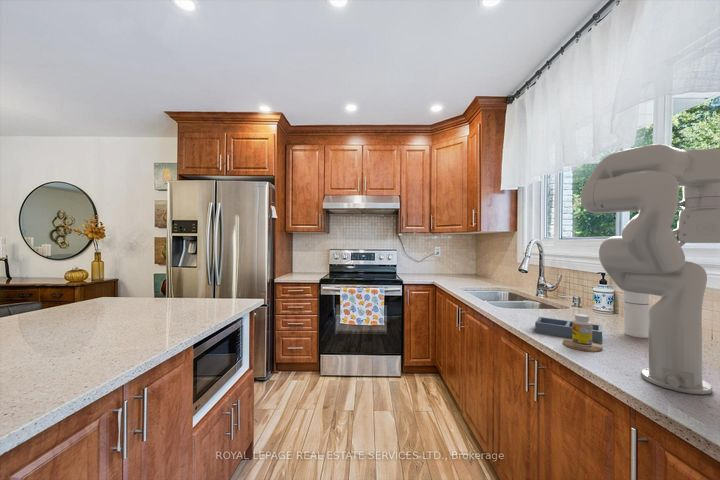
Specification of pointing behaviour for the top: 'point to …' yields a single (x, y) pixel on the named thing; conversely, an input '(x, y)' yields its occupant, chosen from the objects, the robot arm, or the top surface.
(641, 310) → the cylindrical container
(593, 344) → the cork trivet
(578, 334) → the supplement bottle
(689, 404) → the top surface
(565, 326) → the parts caddy
